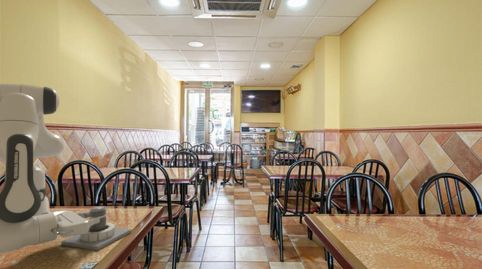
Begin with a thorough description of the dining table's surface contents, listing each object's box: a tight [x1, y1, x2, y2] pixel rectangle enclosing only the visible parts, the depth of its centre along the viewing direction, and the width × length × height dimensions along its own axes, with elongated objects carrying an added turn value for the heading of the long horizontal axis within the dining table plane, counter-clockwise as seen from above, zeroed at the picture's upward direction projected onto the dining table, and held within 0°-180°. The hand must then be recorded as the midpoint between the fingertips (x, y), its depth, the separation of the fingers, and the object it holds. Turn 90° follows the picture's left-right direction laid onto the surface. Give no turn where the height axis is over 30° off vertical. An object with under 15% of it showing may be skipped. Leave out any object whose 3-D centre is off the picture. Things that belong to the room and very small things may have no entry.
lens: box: [88, 205, 107, 232], centre depth 95 cm, size 6×6×10 cm
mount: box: [61, 222, 132, 251], centre depth 95 cm, size 16×16×4 cm
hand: (94, 216), depth 94 cm, fingers open, 8 cm apart
